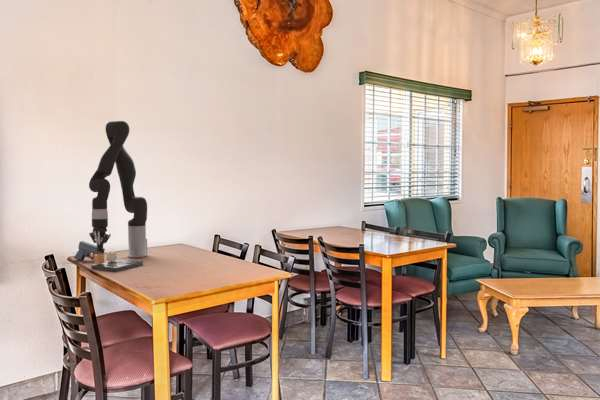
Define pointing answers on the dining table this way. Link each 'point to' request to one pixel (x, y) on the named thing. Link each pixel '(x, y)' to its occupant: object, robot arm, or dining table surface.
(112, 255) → the fader white
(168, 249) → the dining table surface
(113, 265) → the console
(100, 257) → the fader orange
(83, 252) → the toy
